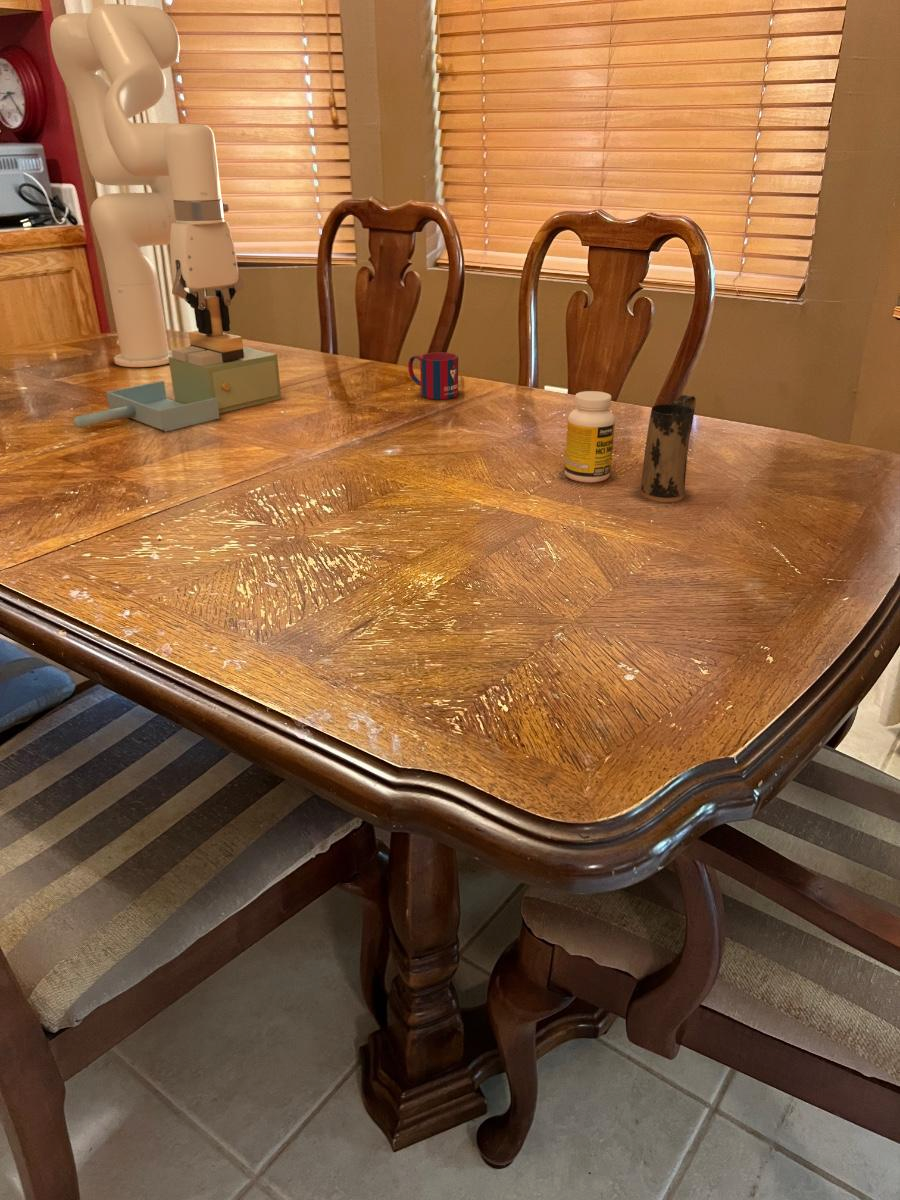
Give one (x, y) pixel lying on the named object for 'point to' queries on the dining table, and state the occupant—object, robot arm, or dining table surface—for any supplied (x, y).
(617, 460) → the dining table surface
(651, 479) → the mug
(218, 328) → the tan two-tone stamp part
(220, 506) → the dining table surface
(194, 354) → the felt
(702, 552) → the dining table surface
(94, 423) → the dustpan
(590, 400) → the pill bottle
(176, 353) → the felt
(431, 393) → the cup
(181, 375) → the cabinet
